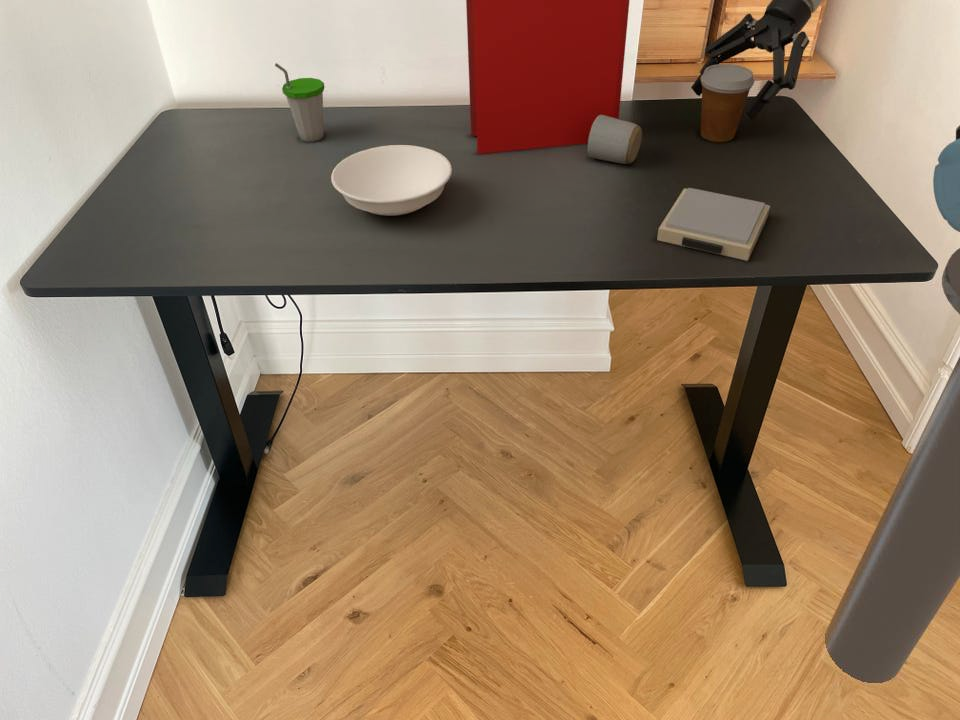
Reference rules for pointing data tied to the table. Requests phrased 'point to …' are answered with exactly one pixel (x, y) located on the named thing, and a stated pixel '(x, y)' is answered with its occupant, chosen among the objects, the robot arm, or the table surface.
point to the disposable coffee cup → (723, 100)
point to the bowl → (392, 178)
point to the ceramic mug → (614, 140)
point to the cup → (305, 105)
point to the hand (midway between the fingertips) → (721, 103)
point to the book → (543, 70)
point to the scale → (714, 223)
